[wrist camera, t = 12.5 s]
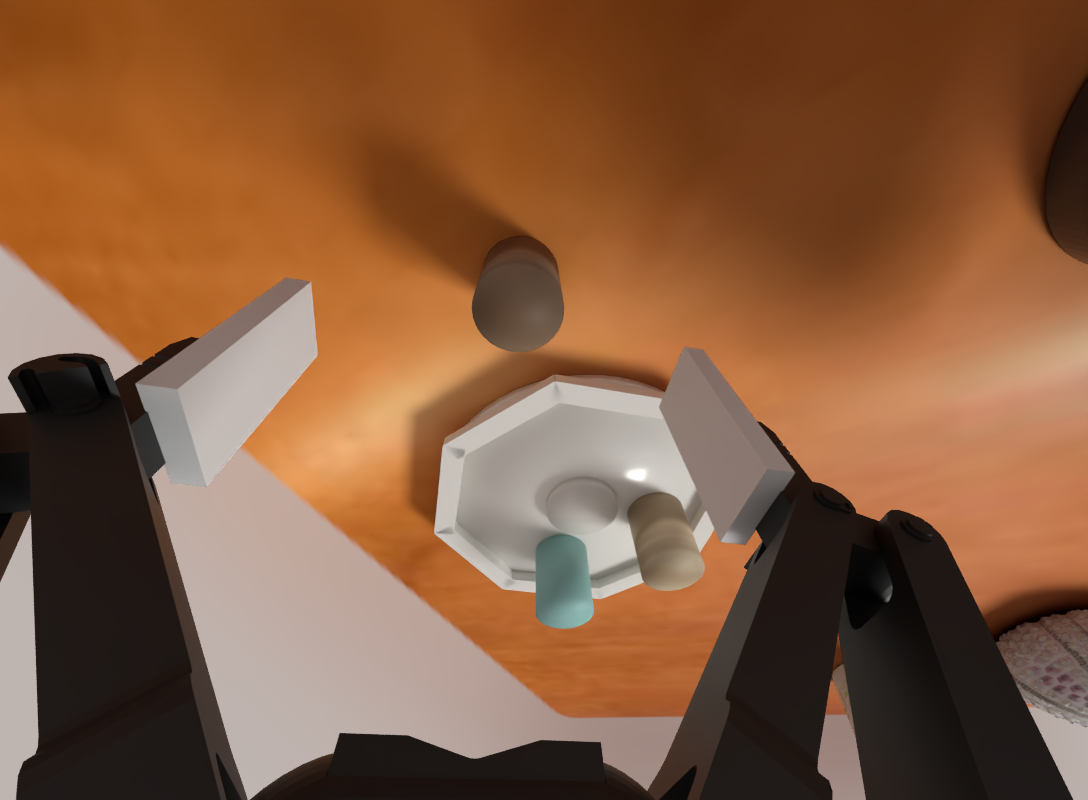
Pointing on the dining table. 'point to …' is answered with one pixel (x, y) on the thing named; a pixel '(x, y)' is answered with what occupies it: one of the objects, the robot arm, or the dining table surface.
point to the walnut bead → (518, 295)
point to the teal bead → (563, 582)
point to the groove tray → (561, 478)
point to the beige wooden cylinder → (664, 542)
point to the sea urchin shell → (1051, 664)
